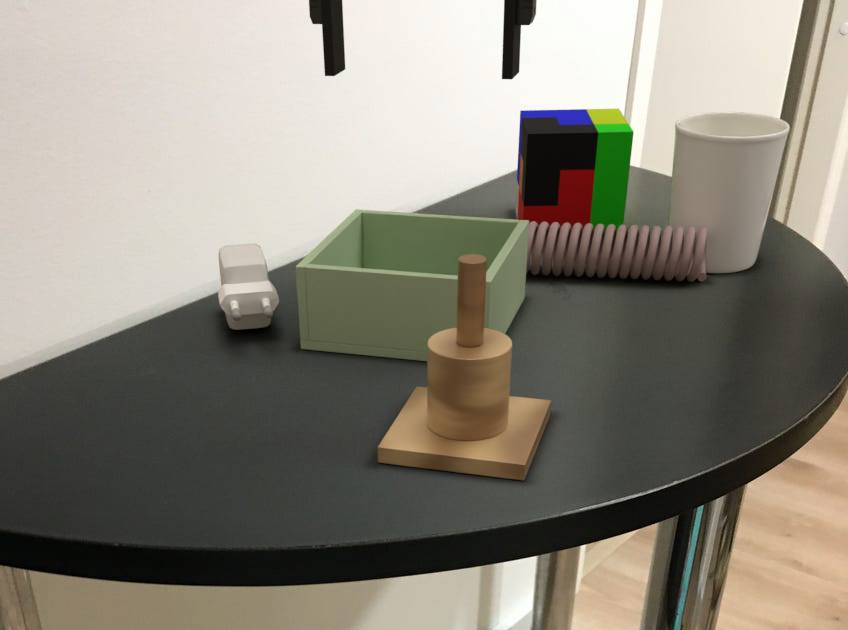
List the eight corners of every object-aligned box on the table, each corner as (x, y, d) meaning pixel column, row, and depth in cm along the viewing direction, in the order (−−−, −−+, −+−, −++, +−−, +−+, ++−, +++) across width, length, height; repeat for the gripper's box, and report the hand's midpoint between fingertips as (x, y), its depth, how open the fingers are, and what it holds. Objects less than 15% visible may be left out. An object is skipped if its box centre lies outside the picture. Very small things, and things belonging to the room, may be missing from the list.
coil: (712, 223, 100) (513, 216, 103) (715, 233, 96) (508, 225, 100) (704, 275, 103) (510, 267, 106) (707, 288, 99) (505, 278, 102)
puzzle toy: (515, 210, 120) (520, 110, 114) (608, 209, 119) (618, 108, 113) (521, 240, 112) (527, 133, 106) (621, 238, 111) (633, 131, 105)
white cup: (636, 259, 106) (652, 124, 99) (699, 236, 111) (719, 106, 104) (722, 284, 100) (746, 143, 93) (785, 259, 105) (812, 123, 98)
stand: (550, 415, 80) (564, 239, 72) (524, 481, 72) (536, 292, 65) (416, 400, 82) (416, 229, 75) (377, 462, 75) (373, 279, 67)
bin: (524, 298, 99) (529, 220, 94) (487, 367, 87) (490, 281, 83) (358, 284, 102) (355, 209, 98) (300, 349, 91) (295, 266, 87)
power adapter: (286, 354, 90) (281, 282, 86) (226, 359, 89) (219, 287, 86) (272, 305, 99) (266, 238, 95) (217, 310, 98) (210, 243, 95)
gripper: (213, -286, 71) (248, 81, 83) (608, -315, 64) (580, 87, 77) (257, -280, 76) (283, 62, 89) (624, -306, 70) (595, 67, 83)
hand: (421, 74), depth 83 cm, fingers open, 13 cm apart
